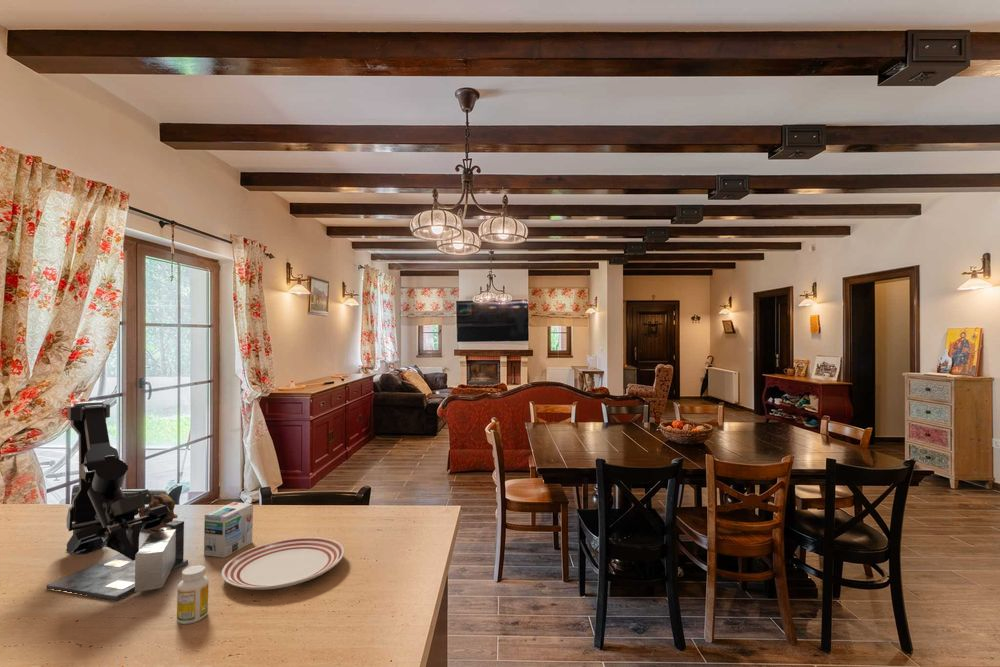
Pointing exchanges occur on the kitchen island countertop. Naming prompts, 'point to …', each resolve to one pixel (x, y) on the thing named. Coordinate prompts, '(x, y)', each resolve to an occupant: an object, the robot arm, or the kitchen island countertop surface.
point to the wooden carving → (158, 501)
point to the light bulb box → (228, 529)
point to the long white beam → (155, 559)
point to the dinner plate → (282, 563)
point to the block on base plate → (114, 573)
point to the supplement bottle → (192, 595)
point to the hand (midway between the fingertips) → (136, 559)
